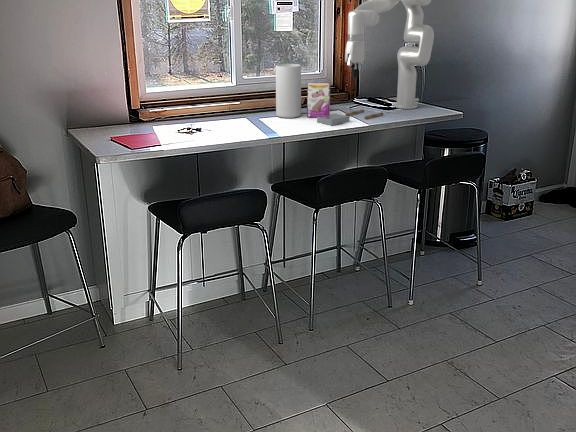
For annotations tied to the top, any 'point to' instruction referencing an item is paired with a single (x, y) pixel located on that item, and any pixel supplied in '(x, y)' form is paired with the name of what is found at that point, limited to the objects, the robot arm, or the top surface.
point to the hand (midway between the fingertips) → (355, 77)
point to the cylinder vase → (288, 90)
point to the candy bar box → (318, 99)
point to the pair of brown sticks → (365, 116)
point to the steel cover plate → (333, 119)
